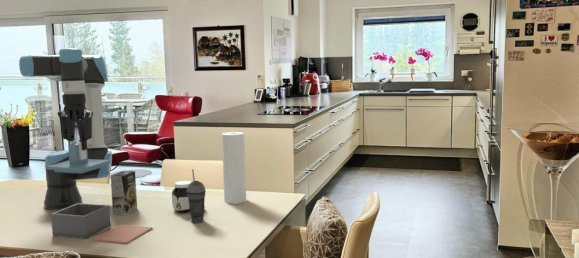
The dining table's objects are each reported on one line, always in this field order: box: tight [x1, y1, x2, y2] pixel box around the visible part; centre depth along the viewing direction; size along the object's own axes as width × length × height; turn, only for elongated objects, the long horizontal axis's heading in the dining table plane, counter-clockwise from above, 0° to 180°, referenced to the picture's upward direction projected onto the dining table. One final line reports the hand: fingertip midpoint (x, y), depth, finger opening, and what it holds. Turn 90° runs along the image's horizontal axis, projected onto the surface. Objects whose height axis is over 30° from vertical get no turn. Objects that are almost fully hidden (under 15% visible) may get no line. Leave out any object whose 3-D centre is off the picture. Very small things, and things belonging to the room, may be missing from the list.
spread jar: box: [171, 180, 206, 214], centre depth 210 cm, size 12×11×12 cm
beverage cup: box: [186, 169, 207, 224], centre depth 194 cm, size 7×7×20 cm
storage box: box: [50, 203, 112, 240], centre depth 187 cm, size 14×14×8 cm
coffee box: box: [110, 170, 138, 215], centre depth 210 cm, size 9×6×16 cm
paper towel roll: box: [221, 131, 247, 205], centre depth 221 cm, size 9×9×30 cm
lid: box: [45, 142, 112, 173], centre depth 183 cm, size 15×15×9 cm
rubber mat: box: [91, 224, 153, 245], centre depth 182 cm, size 14×16×1 cm
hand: (78, 158), depth 183 cm, fingers closed on lid, 3 cm apart
